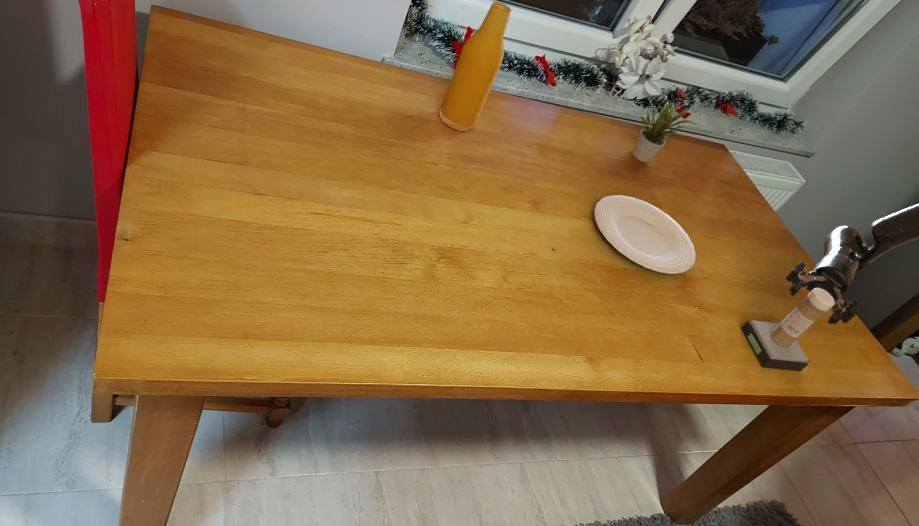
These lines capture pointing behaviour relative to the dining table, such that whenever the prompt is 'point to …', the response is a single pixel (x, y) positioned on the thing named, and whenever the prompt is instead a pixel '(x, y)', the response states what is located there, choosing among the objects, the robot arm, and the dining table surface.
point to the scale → (773, 348)
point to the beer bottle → (477, 69)
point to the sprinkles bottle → (802, 317)
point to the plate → (644, 234)
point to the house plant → (656, 132)
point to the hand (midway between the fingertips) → (813, 306)
